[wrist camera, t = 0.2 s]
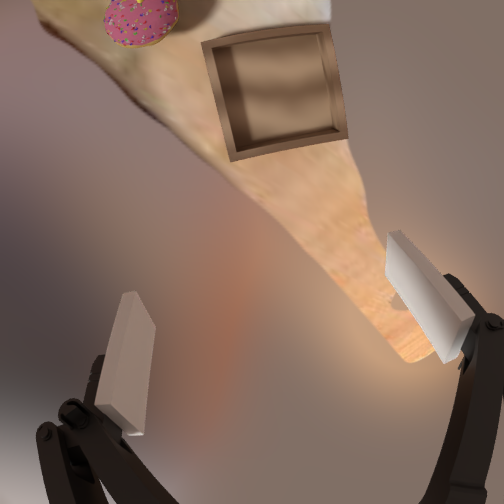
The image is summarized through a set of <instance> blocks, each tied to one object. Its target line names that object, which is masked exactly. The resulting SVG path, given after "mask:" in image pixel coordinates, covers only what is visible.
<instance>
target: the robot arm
mask: <svg viewBox="0 0 504 504" xmlns="http://www.w3.org/2000/svg"><path fill="white" fill-rule="evenodd" d="M385 276H386V277H387V279H388V280H389V281H390V283H391V284H392V286H393V287H394V288H395V290H396V291H397V293H398V294H399V295H400V297H401V298H402V300H403V301H404V303H405V304H406V306H407V307H408V309H409V310H410V312H411V313H412V315H413V316H414V318H415V319H416V321H417V322H418V324H419V325H420V327H421V328H422V330H423V331H424V333H425V334H426V336H427V338H428V339H429V341H430V342H431V344H432V346H433V347H434V349H435V350H436V352H437V354H438V355H439V357H440V358H441V360H442V362H443V363H447V362H449V361H451V360H453V359H455V358H457V356H458V354H459V352H460V350H462V352H463V353H464V357H463V359H462V361H461V363H460V365H459V367H458V369H460V368H461V372H460V378H459V383H458V388H457V392H456V397H455V402H454V406H453V410H452V414H451V418H450V422H449V425H448V429H447V432H446V436H445V439H444V443H443V446H442V449H441V452H440V456H439V458H438V461H437V464H436V467H435V470H434V472H433V475H432V478H431V480H430V483H429V485H428V488H427V490H426V493H425V495H424V497H423V498H422V500H421V501H420V502H419V504H485V502H486V498H487V490H486V489H485V487H484V486H485V480H486V477H487V473H488V470H489V466H490V462H491V458H492V454H493V449H494V444H495V440H496V434H497V429H498V423H499V417H500V410H501V403H502V395H503V399H504V320H503V319H502V318H501V317H500V316H498V315H496V314H493V313H487V312H486V311H485V310H484V309H483V308H482V306H481V305H480V304H479V303H478V301H477V300H476V299H475V298H474V297H473V296H472V294H471V293H469V291H468V290H467V289H466V288H465V287H464V285H463V284H462V283H461V282H460V281H459V280H458V278H456V277H454V276H452V275H451V274H446V275H442V274H441V273H440V272H439V271H438V270H437V269H436V268H435V266H434V265H433V264H432V263H431V262H430V261H429V260H428V259H427V258H426V257H425V256H424V254H423V253H421V251H420V250H419V249H418V248H417V247H416V246H415V245H414V244H413V243H412V242H411V241H410V240H409V239H408V238H407V237H406V236H405V235H404V234H403V233H402V232H401V231H400V230H398V231H393V232H390V233H388V236H387V253H386V266H385ZM155 330H156V327H155V325H154V323H153V321H152V320H151V318H150V316H149V314H148V312H147V311H146V309H145V307H144V305H143V304H142V301H141V299H140V298H139V296H138V294H137V292H136V291H132V292H127V293H123V295H122V298H121V302H120V305H119V308H118V312H117V315H116V318H115V322H114V326H113V329H112V333H111V336H110V340H109V344H108V347H107V351H106V354H105V355H98V357H97V358H96V360H95V361H94V363H93V365H92V369H91V372H90V374H91V375H90V377H89V383H88V384H87V388H86V393H85V397H84V401H83V403H82V402H81V401H80V400H78V399H75V398H72V399H69V400H67V401H65V402H64V403H63V404H62V405H61V407H60V409H59V412H58V418H59V421H61V422H62V423H63V425H60V426H56V425H55V424H54V423H52V422H44V423H43V424H41V425H40V426H39V428H38V429H37V432H36V442H37V448H38V454H39V460H40V465H41V470H42V475H43V480H44V484H45V488H46V492H47V496H48V500H49V504H109V503H108V501H107V498H106V496H105V493H104V491H103V488H102V485H101V483H100V480H101V482H102V483H103V485H104V486H105V488H106V489H107V491H108V492H109V494H110V495H111V496H112V498H113V499H114V501H115V502H116V503H117V504H179V503H178V502H177V501H176V500H175V499H174V498H173V497H172V496H171V495H170V494H169V493H168V491H167V490H166V489H165V488H164V487H163V486H162V485H161V484H160V483H159V482H158V480H157V479H156V478H155V477H154V476H153V475H152V473H151V472H150V471H149V470H148V469H147V468H146V466H145V465H144V464H143V463H142V461H141V460H140V459H139V458H138V456H137V455H136V454H135V453H134V451H133V450H132V449H131V448H130V446H129V445H128V444H127V442H126V441H125V440H124V439H123V438H122V437H121V436H122V430H123V431H124V432H125V433H126V434H128V435H144V428H145V416H146V405H147V404H146V403H147V394H148V385H149V375H150V367H151V359H152V352H153V344H154V337H155ZM99 479H100V480H99Z"/></svg>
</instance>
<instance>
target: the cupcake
mask: <svg viewBox="0 0 504 504" xmlns="http://www.w3.org/2000/svg"><path fill="white" fill-rule="evenodd" d="M106 9H107V10H106V13H105V17H104V20H105V21H104V22H105V28H106V31H107V34H108V35H109V36H110V37H111V38H112V39H113V40H114V41H115V42H116V43H117V44H118V45H120V46H122V47H125V48H139V47H144V46H151V45H154V44H156V43H158V42H160V41H161V40H162V39H163V38H164V37H165V36H166V35H167V34H168V33H169V32H170V31H171V29H172V28H173V27H174V25H175V24H176V23H177V21H178V19H179V8H178V2H177V0H112V1H111V3H110V5H109V7H107V8H106Z"/></svg>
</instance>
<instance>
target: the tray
mask: <svg viewBox="0 0 504 504" xmlns="http://www.w3.org/2000/svg"><path fill="white" fill-rule="evenodd" d="M201 46H202V50H203V54H204V58H205V62H206V66H207V70H208V74H209V78H210V82H211V86H212V90H213V94H214V98H215V102H216V106H217V110H218V114H219V118H220V122H221V126H222V131H223V135H224V139H225V143H226V147H227V151H228V155H229V159H230V162H234V161H238V160H242V159H247V158H251V157H255V156H260V155H264V154H269V153H273V152H278V151H283V150H288V149H293V148H298V147H303V146H309V145H314V144H320V143H325V142H331V141H337V140H343V139H348V130H347V122H346V115H345V108H344V101H343V95H342V88H341V82H340V77H339V71H338V65H337V60H336V55H335V50H334V45H333V40H332V36H331V31H330V27H329V24H317V25H303V26H292V27H282V28H274V29H267V30H260V31H253V32H247V33H242V34H236V35H231V36H226V37H221V38H217V39H212V40H208V41H204V42H201Z"/></svg>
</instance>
